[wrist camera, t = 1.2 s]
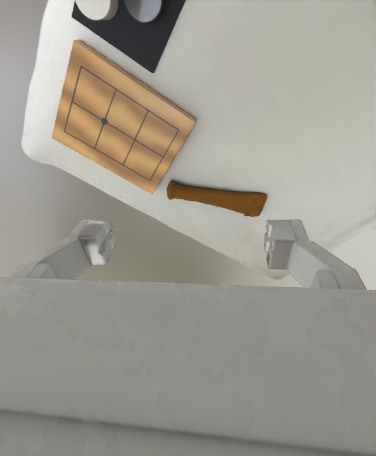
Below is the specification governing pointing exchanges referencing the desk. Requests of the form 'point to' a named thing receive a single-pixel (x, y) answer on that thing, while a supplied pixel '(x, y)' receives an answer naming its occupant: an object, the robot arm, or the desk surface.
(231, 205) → the primitive tool
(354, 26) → the desk surface
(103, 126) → the go board
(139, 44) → the stone mat
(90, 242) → the robot arm
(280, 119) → the desk surface
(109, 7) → the white stone
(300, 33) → the desk surface
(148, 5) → the black stone
